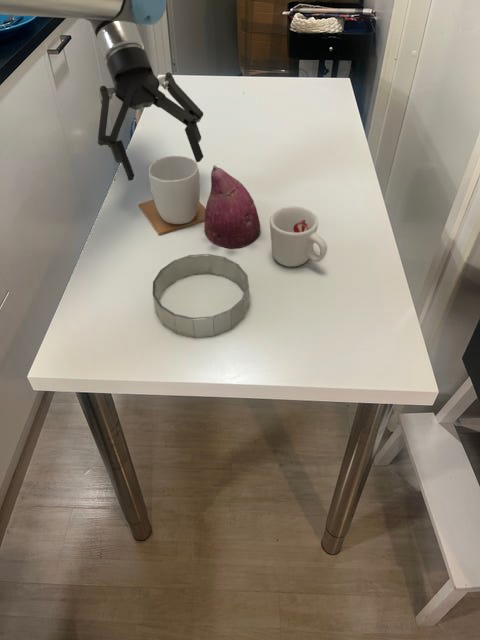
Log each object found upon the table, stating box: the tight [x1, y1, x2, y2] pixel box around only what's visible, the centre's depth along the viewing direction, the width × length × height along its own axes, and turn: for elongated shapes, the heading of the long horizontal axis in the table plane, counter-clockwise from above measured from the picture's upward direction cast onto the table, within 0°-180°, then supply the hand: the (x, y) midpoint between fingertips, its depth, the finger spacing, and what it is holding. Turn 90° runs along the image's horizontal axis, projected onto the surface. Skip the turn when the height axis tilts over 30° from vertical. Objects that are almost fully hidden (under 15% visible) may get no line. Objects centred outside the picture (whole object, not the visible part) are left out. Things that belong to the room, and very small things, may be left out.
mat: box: [138, 199, 206, 236], centre depth 97 cm, size 11×11×1 cm
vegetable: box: [203, 164, 261, 249], centre depth 88 cm, size 10×10×15 cm
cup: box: [269, 205, 328, 267], centre depth 84 cm, size 11×8×8 cm
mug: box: [148, 155, 201, 224], centre depth 93 cm, size 13×9×10 cm
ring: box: [152, 253, 250, 339], centre depth 78 cm, size 15×15×4 cm
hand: (166, 168), depth 92 cm, fingers open, 13 cm apart
